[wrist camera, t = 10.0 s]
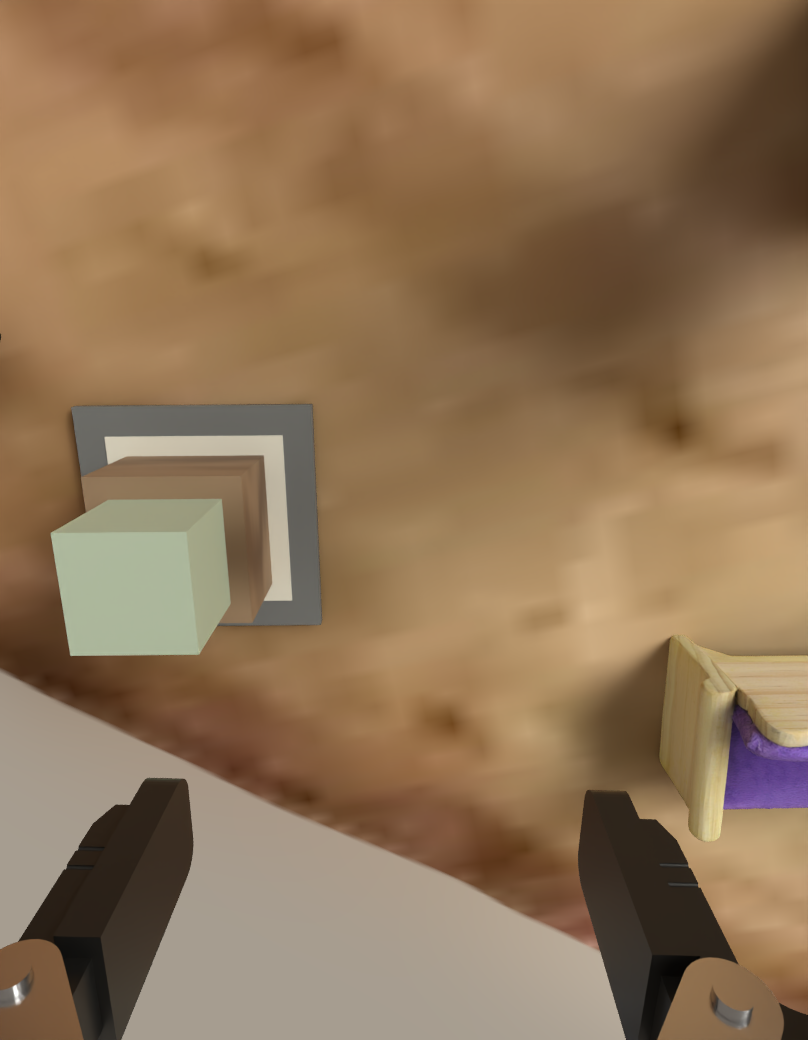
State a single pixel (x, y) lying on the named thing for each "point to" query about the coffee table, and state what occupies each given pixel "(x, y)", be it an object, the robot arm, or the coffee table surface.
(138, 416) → the mat
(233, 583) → the walnut base block
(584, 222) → the coffee table surface
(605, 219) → the coffee table surface
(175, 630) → the sage cube
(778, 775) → the toy sofa
